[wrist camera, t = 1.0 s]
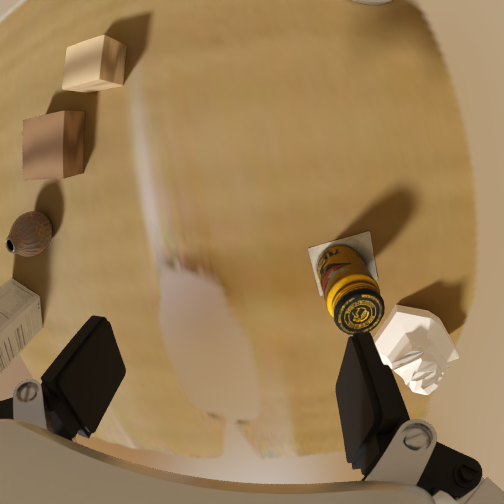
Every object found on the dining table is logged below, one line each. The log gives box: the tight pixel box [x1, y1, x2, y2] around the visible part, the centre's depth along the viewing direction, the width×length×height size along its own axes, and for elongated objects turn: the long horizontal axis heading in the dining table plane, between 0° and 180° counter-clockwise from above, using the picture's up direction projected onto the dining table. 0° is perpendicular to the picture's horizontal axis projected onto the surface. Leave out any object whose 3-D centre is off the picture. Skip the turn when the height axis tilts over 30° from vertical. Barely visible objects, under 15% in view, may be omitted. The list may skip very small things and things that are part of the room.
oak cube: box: [62, 35, 127, 93], centre depth 26 cm, size 6×6×6 cm
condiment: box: [308, 231, 385, 335], centre depth 31 cm, size 7×8×12 cm
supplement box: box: [0, 278, 43, 375], centre depth 37 cm, size 10×9×17 cm
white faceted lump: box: [373, 305, 459, 395], centre depth 35 cm, size 12×15×14 cm
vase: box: [6, 211, 52, 257], centre depth 34 cm, size 7×7×9 cm
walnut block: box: [23, 110, 85, 180], centre depth 31 cm, size 9×9×5 cm
